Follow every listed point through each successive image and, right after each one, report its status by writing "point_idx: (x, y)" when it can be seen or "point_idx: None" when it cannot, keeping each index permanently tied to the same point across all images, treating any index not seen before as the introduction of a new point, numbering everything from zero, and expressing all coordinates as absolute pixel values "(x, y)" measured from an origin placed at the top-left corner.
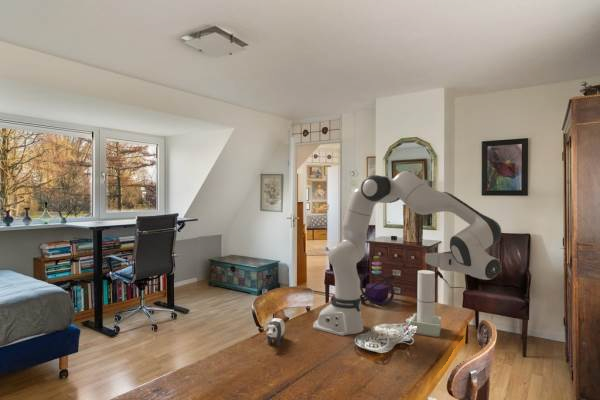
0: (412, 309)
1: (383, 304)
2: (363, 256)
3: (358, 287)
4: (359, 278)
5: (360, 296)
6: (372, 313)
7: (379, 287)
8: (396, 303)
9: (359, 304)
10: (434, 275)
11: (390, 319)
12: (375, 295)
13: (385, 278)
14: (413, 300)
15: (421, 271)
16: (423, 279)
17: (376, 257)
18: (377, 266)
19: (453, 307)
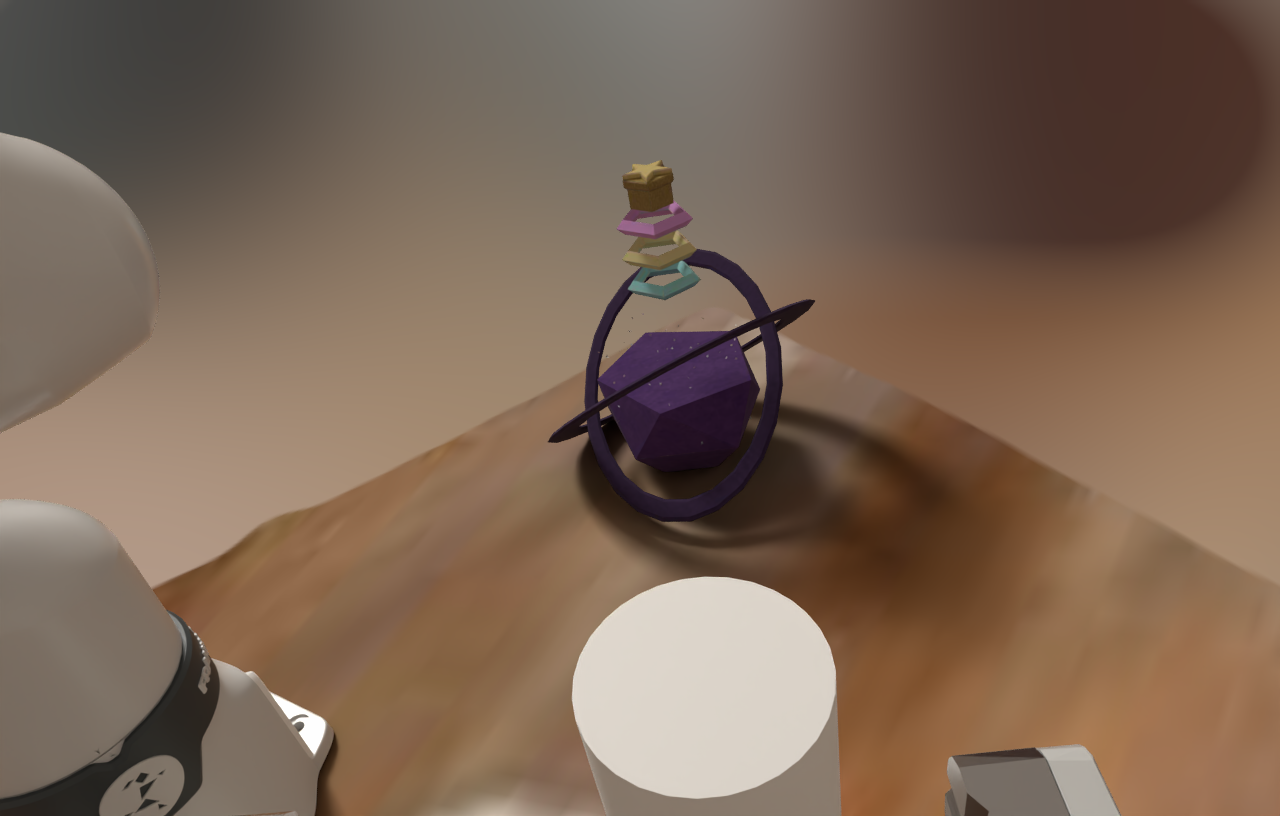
0: (872, 579)
1: (676, 518)
2: (71, 352)
3: (13, 702)
4: (8, 616)
5: (556, 440)
6: (548, 614)
7: (683, 384)
8: (806, 479)
9: (103, 810)
10: (798, 786)
11: None
12: (641, 445)
13: (756, 303)
14: (951, 444)
15: (646, 640)
16: (614, 810)
17: (641, 176)
18: (675, 234)
19: (1242, 575)
